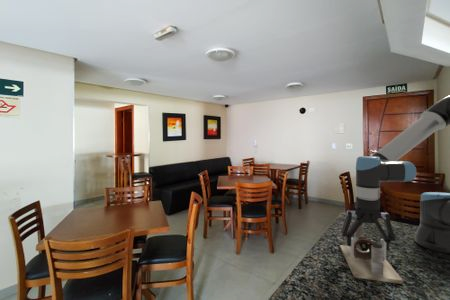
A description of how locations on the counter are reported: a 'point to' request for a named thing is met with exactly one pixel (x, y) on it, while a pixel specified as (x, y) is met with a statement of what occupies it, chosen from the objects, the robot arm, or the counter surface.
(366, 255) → the pottery mug
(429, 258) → the counter surface
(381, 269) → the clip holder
